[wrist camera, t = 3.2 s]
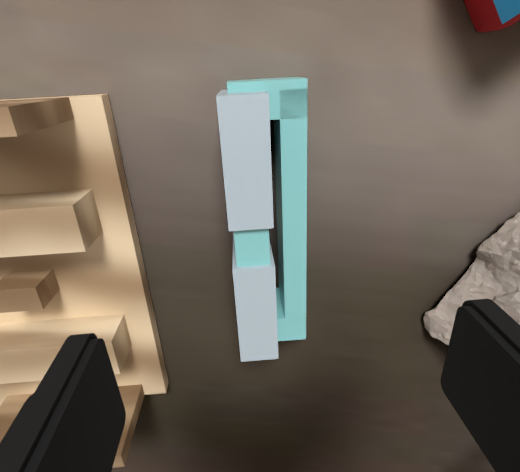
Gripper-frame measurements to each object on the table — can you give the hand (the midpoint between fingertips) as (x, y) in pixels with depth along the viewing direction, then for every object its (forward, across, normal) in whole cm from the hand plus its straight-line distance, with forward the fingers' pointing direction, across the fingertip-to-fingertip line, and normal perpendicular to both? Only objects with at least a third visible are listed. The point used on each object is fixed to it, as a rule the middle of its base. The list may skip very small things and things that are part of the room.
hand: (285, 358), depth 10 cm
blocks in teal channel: (+12, 0, +1) cm, 12 cm away
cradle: (+12, +13, +4) cm, 18 cm away
